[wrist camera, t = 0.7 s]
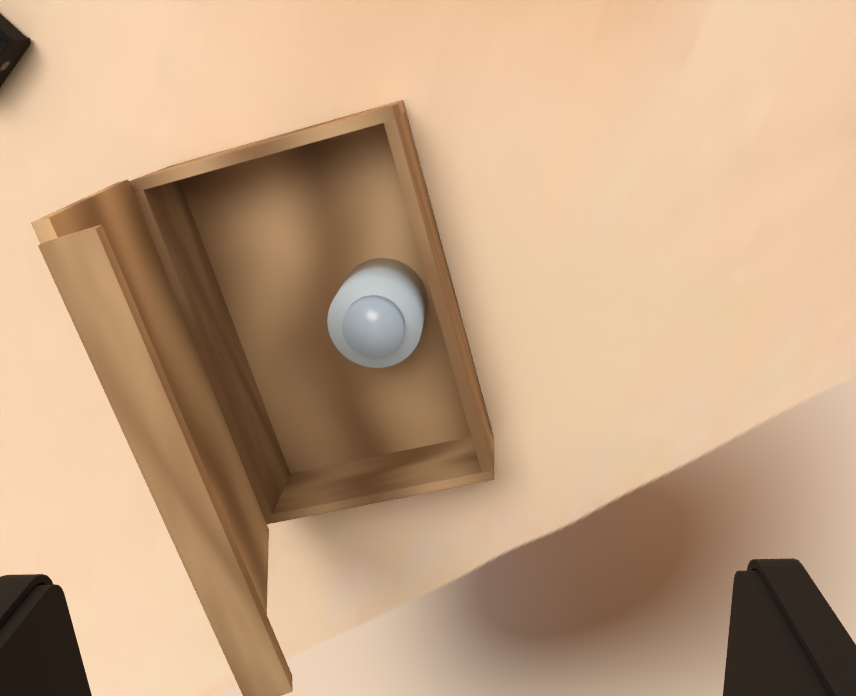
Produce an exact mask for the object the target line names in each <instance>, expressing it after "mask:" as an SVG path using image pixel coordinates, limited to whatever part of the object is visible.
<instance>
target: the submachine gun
mask: <svg viewBox="0 0 856 696" xmlns="http://www.w3.org/2000/svg"><path fill="white" fill-rule="evenodd" d="M29 45H30V38H27V37H25V36H24V35H23V34H22V33H21V32H20V31H19V30H18V29H17V28H15V27H14V26H13V25H12V24H11V23H10V22H9V21H8V20H6V19H5V18H4V17H3V16H2V15H1V14H0V87H1V85H2V84H3V82H4V81H5V80H6V78H7V77H8V75H9V74H10V72H11V71H12V70H13V68H14V67H15V65H16V64H17V63H18V61H19V60H20V58H21V57H22V55H23V54H24V52H25V51H26V49H27V48H28V46H29Z"/></svg>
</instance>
